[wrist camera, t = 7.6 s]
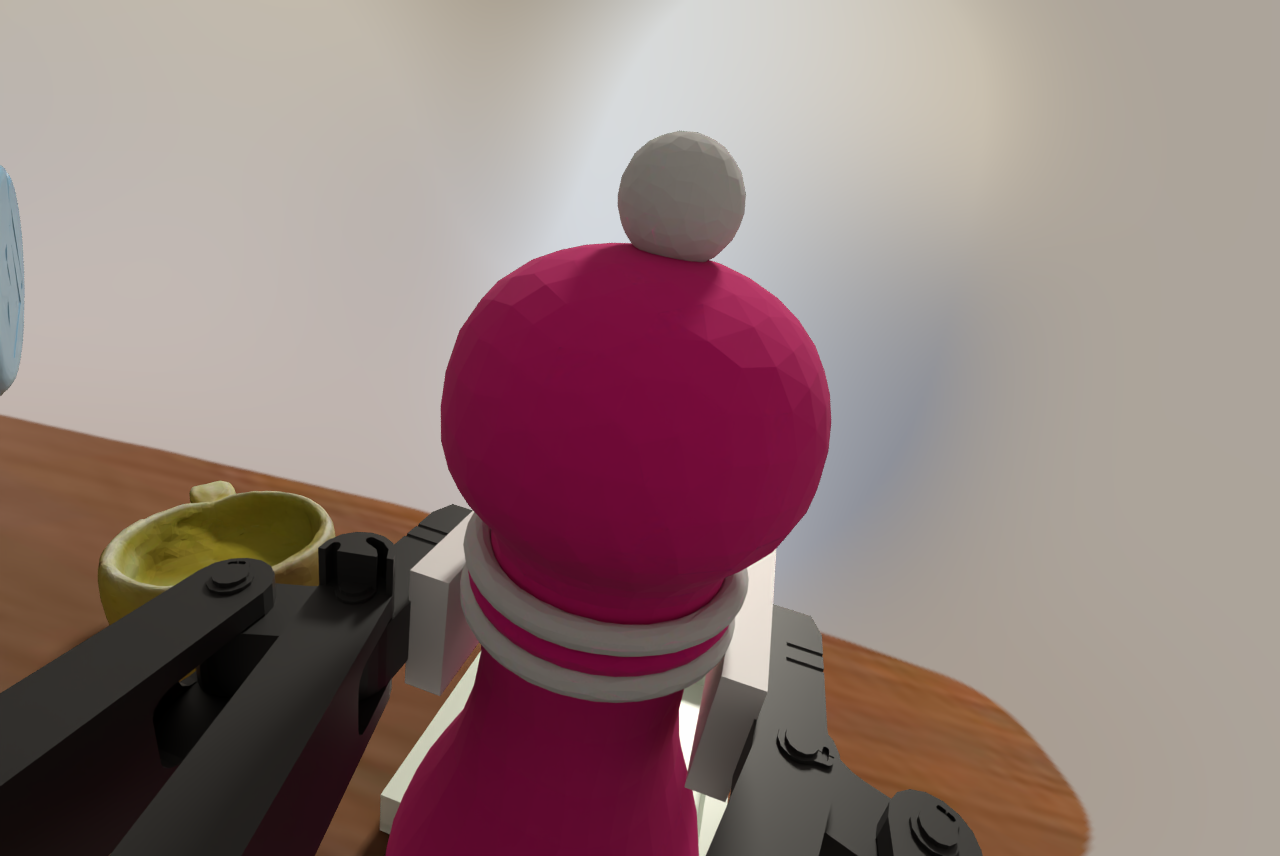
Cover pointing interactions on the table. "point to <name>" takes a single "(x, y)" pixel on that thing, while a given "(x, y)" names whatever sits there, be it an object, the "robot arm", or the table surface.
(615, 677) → the pepper mill
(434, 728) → the tray
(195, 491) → the mug
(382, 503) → the table surface
